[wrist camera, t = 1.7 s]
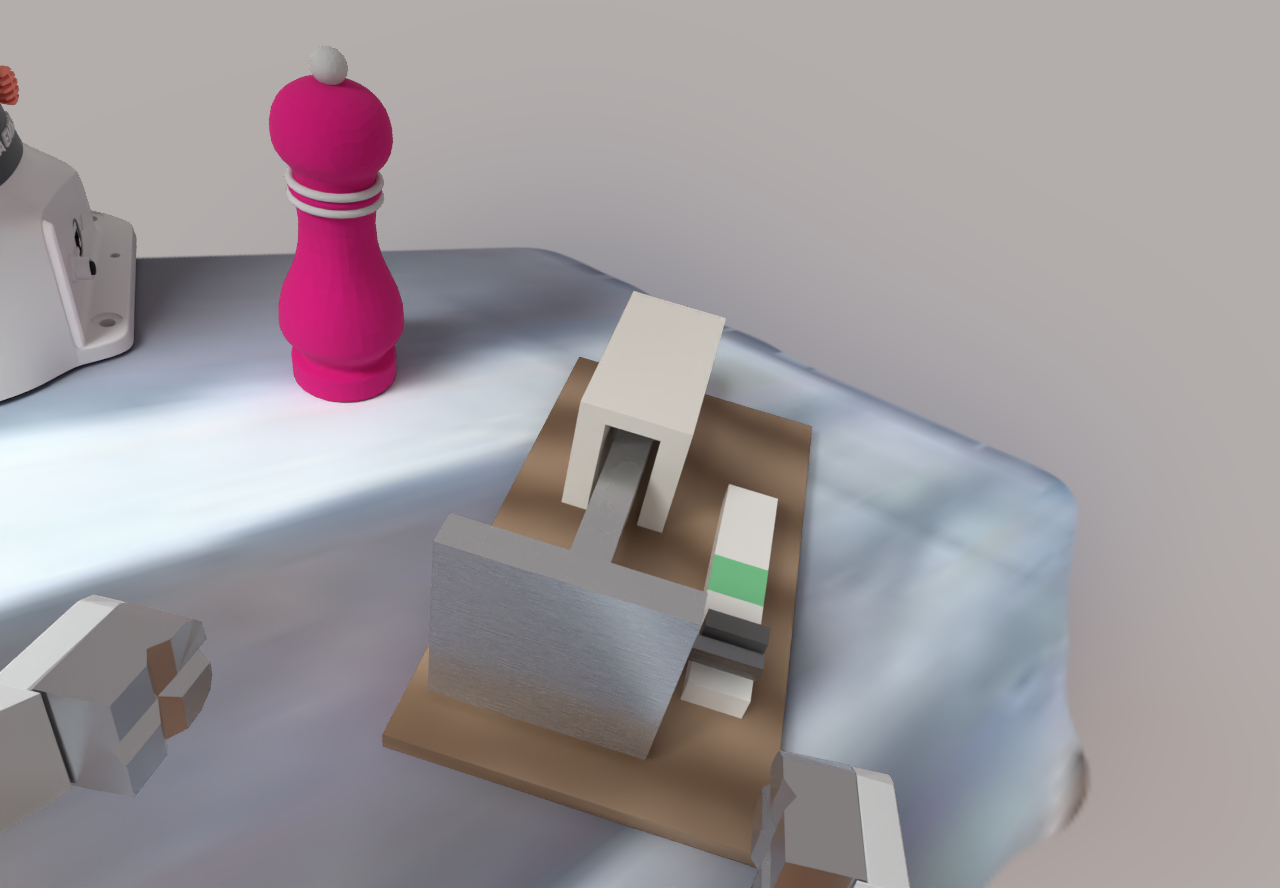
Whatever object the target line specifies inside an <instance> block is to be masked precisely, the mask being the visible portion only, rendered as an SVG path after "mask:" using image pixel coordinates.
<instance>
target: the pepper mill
mask: <svg viewBox="0 0 1280 888" xmlns="http://www.w3.org/2000/svg"><path fill="white" fill-rule="evenodd" d="M309 65H310V70H311V72H312V74H313V75H309V76H304V77H301V78H298V79H296V80H294V81H292V82H291V83H289V84H287V85H286V86H284V87H283V89H281V90H280V91H279V93H278V94H277V95H276V97H275V99H274V101H273V104H272V106H271V111H270V117H269V130H270V136H271V141H272V144H273V146H274V148H275V150H276V152H277V153H278V154H279V156H280V157H281V158H282V160H283V161H285V162H286V163H287V164H288V165H289V167H288V168H287V169H286V171H285V180H286V182H287V185H288V186H287V188H286V194H287V198H288V199H289V201H290V202H291V203H292V204H293V205H294V206H296V208H297V214H298V244H297V249H296V254H295V257H294V260H293V263H292V266H291V268H290V270H289V272H288V274H287V277H286V279H285V281H284V283H283V286H282V290H281V294H280V299H279V325H280V328H281V331H282V333H283V335H284V336H285V338H286V339H287V341H288V342H289V343H290V344H291V345H292V346H293V348H292V363H293V372H294V377H295V379H296V382H297V383H298V384H299V385H300V386H301V388H302V389H304V390H305V391H306V392H308V393H310V394H311V395H313V396H315V397H318V398H321V399H324V400H328V401H337V402H355V401H361V400H365V399H369V398H372V397H374V396H376V395H378V394H381V393H382V392H383V391H385V390H386V389H387V388H389V386H390V385H391V384H392V383H393V381H394V379H395V376H396V349H395V346H394V345H395V344H396V342H397V341H398V339H399V338H400V336H401V334H402V332H403V327H404V313H403V303H402V300H401V297H400V294H399V291H398V287H397V285H396V283H395V281H394V279H393V277H392V275H391V273H390V271H389V269H388V267H387V265H386V263H385V261H384V259H383V256H382V254H381V251H380V248H379V244H378V240H377V232H376V224H375V221H376V210H378V209H379V207H380V206H381V205H382V204H383V201H384V194H383V192H382V188H383V185H384V181H383V177H382V175H381V174H380V172H378V171H379V170H380V169H381V168H382V167H383V166H384V165H385V163H386V162H387V160H388V158H389V156H390V154H391V149H392V144H393V137H392V127H391V123H390V120H389V117H388V114H387V112H386V109H385V108H384V106H383V105H382V103H381V102H380V100H379V99H378V98H377V97H376V96H375V95H374V94H373V93H372V92H370V90H368V89H367V88H366V87H364V86H362V85H361V84H359V83H357V82H354V81H352V80H349V79H346V78H345V77H346V76H347V71H348V66H347V62H346V60H345V58H344V56H343V55H342V54H341V53H340V52H339V51H338V50H337V49H335V48H332V47H329V46H322V47H319V48H317V49H316V50H314V52H313V53H312V55H311V57H310V60H309Z"/></svg>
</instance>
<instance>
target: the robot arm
mask: <svg viewBox="0 0 1280 888" xmlns="http://www.w3.org/2000/svg"><path fill="white" fill-rule="evenodd" d="M10 70H11V69H10V68H9V67H7V66H0V103H2V104H8V105H15V104H16V103H17V101H18V97H19V95H18V94H17V93H18V91H19V88H18V85H17V79H16V78H14V77H15V74H14V72H12V71H10ZM135 274H136V235H135V232H134V230H133V227H132V225H131V224H130V223H129V222H127V221H124V220H122V219H119V218H117V217H114V216H111V215H107V214H104V213H100V212H96V211H91V210H90V207H89V204H88V200H87V197H86V193H85V191H84V187H83V184H82V182H81V179H80V177H79V175H78V173H77V171H75V169H74V168H72V167H71V166H70V165H68V164H67V163H65V162H63V161H61V160H59V159H57V158H55V157H53V156H51V155H48V154H46V153H44V152H41V151H39V150H37V149H35V148H32V147H30V146H29V145H27V144H25V143H22V141H21V139H20V138H19V136H18V134H17V132H16V131H15V129H14V125H13V121H12V119H11V118H10V116H9V114H8V112H7V111H4V109H3V108H2V106H1V104H0V401H2V400H5V399H8V398H11V397H14V396H17V395H19V394H22V393H24V392H27V391H29V390H31V389H34V388H36V387H38V386H40V385H42V384H44V383H46V382H48V381H50V380H51V379H53V378H55V377H57V376H59V375H61V374H62V373H64V372H66V371H68V370H70V369H72V368H75V367H77V366H80V365H83V364H87V363H91V362H95V361H99V360H102V359H106V358H109V357H112V356H115V355H118V354H121V353H123V352H125V351H127V350H128V349H130V348H131V347H132V345H133V341H134V309H135ZM205 640H206V635H205V631H204V626H203V622H201V621H197V620H194V619H190V618H186V617H182V616H178V615H174V614H170V613H166V612H162V611H158V610H155V609H151V608H147V607H143V606H139V605H135V604H131V603H127V602H122V601H118V600H114V599H110V598H106V597H101V596H97V595H91V596H89V597H86V598H84V599H81V600H79V601H78V602H77V603H76V604H75V605H73V606H72V607H71V608H70V609H69V610H68V611H67V612H66V613H65V614H64V615H62V616H61V617H60V618H59V619H58V620H57V621H56V622H55V623H54V624H53V625H51V626H50V627H49V628H48V629H47V630H46V631H45V632H44V633H43V634H42V635H40V636H39V637H38V638H37V639H36V640H35V641H34V642H33V643H32V644H31V645H29V646H28V647H27V648H26V649H25V650H24V651H23V652H22V653H21V654H20V655H18V656H17V657H16V658H15V659H14V660H13V661H12V662H11V663H10V664H9V665H7V666H6V667H5V668H4V669H3V670H2V671H1V672H0V833H2V832H4V831H5V830H7V829H8V828H10V827H12V826H13V825H15V824H16V823H18V822H20V821H21V820H23V819H24V818H26V817H28V816H29V815H31V814H33V813H34V812H36V811H37V810H39V809H41V808H42V807H44V806H45V805H47V804H49V803H50V802H52V801H53V800H55V799H57V798H58V797H60V796H62V795H63V794H65V793H66V792H68V791H70V790H71V789H72V785H75V786H80V787H84V788H89V789H94V790H99V791H104V792H109V793H114V794H119V795H124V796H129V797H134V798H135V797H136V796H137V794H138V793H139V792H140V790H141V789H142V788H143V787H144V785H145V784H146V783H147V781H148V780H149V779H150V777H151V776H152V775H153V774H154V772H155V771H156V770H157V768H158V767H159V766H160V764H161V763H162V762H163V761H164V759H165V758H166V757H167V739H169V738H170V737H172V736H174V735H176V734H178V733H180V732H182V731H184V730H186V729H188V728H189V726H190V725H191V724H192V722H193V721H194V720H195V718H196V717H197V716H198V714H199V713H200V711H201V710H202V707H203V705H204V703H205V700H206V698H207V696H208V693H209V691H210V686H211V679H212V670H211V663H210V661H209V660H208V659H207V658H206V656H205V655H204V654H203V653H202V652H201V651H200V650H199V648H200V646H201V645H202V644H203V643H204V641H205ZM751 859H752V861H753V863H754V864H755V866H756V868H757V869H758V872H757V875H756V877H755V880H754V882H753V884H752V887H751V888H911V887H910V881H909V875H908V869H907V862H906V856H905V850H904V844H903V838H902V831H901V825H900V819H899V813H898V806H897V800H896V794H895V788H894V782H893V780H892V779H891V777H890V775H888V774H884V773H879V772H875V771H870V770H866V769H862V768H857V767H850V765H847V764H843V763H838V762H833V761H828V760H824V759H819V758H814V757H809V756H805V755H800V754H795V753H790V752H786V751H781V750H779V752H778V753H777V754H776V755H775V757H774V760H773V762H772V764H771V772H770V784H768V785H766V786H764V787H762V790H761V793H760V796H759V799H758V801H757V805H756V810H755V815H754V819H753V826H752V837H751Z"/></svg>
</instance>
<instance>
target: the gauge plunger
mask: <svg viewBox="0 0 1280 888" xmlns="http://www.w3.org/2000/svg"><path fill="white" fill-rule="evenodd" d="M654 440H655V439H652V438H648V437H645V436H642V435H639V434H635V433H632V432H629V431H625V430H622V429H618V432H617V434H616V437H615V439H614V442H613V444H612V447H611V449H610V452H609V454H608V457H607V459H606V462H605V464H604V467H603V469H602V472H601V474H600V477H599V479H598V482H597V484H596V487H595V489H594V492H593V494H592V496H591V499H590V501H589V504H588V506H587V509H586V511H585V514H584V516H583V519H582V521H581V524H580V526H579V529H578V531H577V534H576V536H575V539H574V541H573V544H572V546H571V549H570V550H568V549H565V548H562V547H559V546H555V545H552V544H549V543H546V542H542V541H539V540H536V539H533V538H530V537H526V536H523V535H520V534H517V533H514V532H510V531H507V530H504V529H501V528H497V527H494V526H491V525H488V524H485V523H481V522H478V521H475V520H472V519H468V518H465V517H462V516H459V515H456V514H452V513H450V514H449V516H448V517H447V519H446V521H445V522H444V524H443V526H442V527H441V529H440V531H439V533H438V534H437V536H436V538H435V539H434V541H433V564H432V589H431V614H430V639H429V664H428V689H427V690H428V691H431V692H434V693H437V694H440V695H443V696H447V697H450V698H453V699H456V700H459V701H462V702H465V703H468V704H471V705H475V706H478V707H481V708H484V709H487V710H490V711H493V712H496V713H500V714H503V715H506V716H509V717H512V718H515V719H518V720H521V721H524V722H528V723H531V724H534V725H537V726H540V727H543V728H546V729H549V730H552V731H556V732H559V733H562V734H565V735H568V736H571V737H574V738H577V739H581V740H584V741H587V742H590V743H593V744H596V745H599V746H602V747H605V748H609V749H612V750H615V751H618V752H621V753H624V754H627V755H630V756H633V757H637V758H640V759H643V760H646V757H647V755H648V752H649V750H650V747H651V745H652V743H653V740H654V738H655V735H656V733H657V731H658V728H659V726H660V723H661V721H662V719H663V716H664V714H665V711H666V709H667V706H668V704H669V702H670V699H671V697H672V694H673V692H674V690H675V687H676V685H677V682H678V680H679V678H680V675H681V673H682V670H683V668H684V665H685V663H686V661H687V660H690V661H693V662H696V663H699V664H702V665H706V666H709V667H712V668H715V669H718V670H721V671H725V672H728V673H731V674H734V675H737V676H741V677H744V678H747V679H750V680H753V681H756V682H757V681H758V679H759V677H760V675H761V673H762V671H763V668H764V660H765V655H763V654H760V653H757V652H753V651H750V650H747V649H744V648H741V647H737V646H734V645H731V644H728V643H725V642H721V641H718V640H715V639H712V638H709V637H705V636H702V635H699V634H698V632H699V629H700V627H701V624H702V619H703V614H704V609H705V605H706V600H707V595H708V593H707V592H703V591H700V590H697V589H694V588H691V587H687V586H684V585H681V584H678V583H674V582H671V581H668V580H665V579H662V578H658V577H655V576H652V575H649V574H645V573H642V572H639V571H636V570H633V569H629V568H626V567H623V566H620V565H617V564H613V561H614V558H615V555H616V552H617V549H618V546H619V543H620V540H621V537H622V534H623V531H624V528H625V525H626V522H627V519H628V516H629V513H630V510H631V507H632V504H633V502H634V499H635V496H636V493H637V490H638V487H639V484H640V481H641V478H642V475H643V472H644V469H645V466H646V463H647V460H648V457H649V454H650V451H651V448H652V445H653V442H654Z"/></svg>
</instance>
